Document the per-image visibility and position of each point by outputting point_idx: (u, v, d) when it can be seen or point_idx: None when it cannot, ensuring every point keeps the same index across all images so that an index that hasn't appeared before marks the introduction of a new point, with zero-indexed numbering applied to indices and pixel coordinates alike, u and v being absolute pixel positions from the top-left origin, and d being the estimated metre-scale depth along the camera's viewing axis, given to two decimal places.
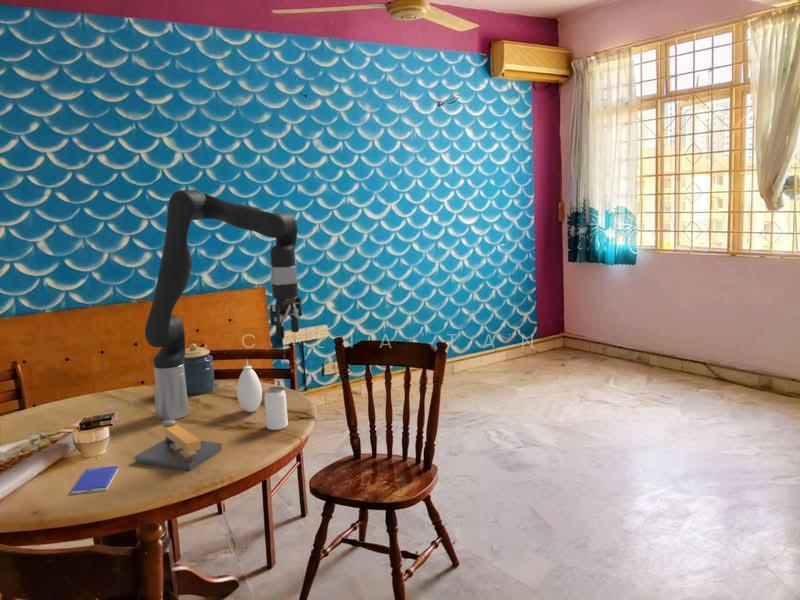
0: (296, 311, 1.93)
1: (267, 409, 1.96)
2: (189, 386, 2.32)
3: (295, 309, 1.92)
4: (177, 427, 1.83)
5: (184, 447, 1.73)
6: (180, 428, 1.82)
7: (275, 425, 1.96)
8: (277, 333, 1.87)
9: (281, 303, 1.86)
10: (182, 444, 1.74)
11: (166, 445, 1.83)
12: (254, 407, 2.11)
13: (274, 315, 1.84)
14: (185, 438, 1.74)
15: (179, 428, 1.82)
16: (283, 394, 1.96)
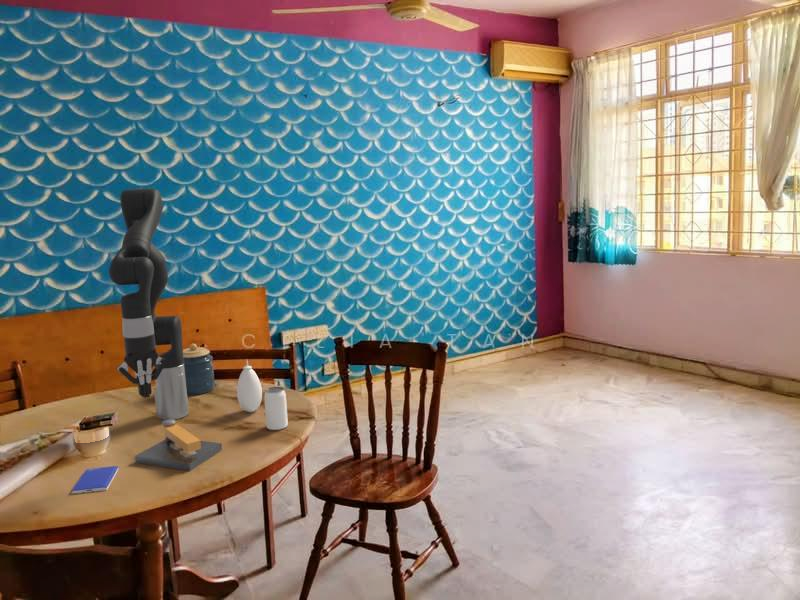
0: None
1: (267, 409, 1.96)
2: (189, 386, 2.32)
3: None
4: (177, 427, 1.83)
5: (184, 447, 1.73)
6: (180, 428, 1.82)
7: (275, 425, 1.96)
8: None
9: None
10: (182, 444, 1.74)
11: (166, 445, 1.83)
12: (254, 407, 2.11)
13: None
14: (185, 438, 1.74)
15: (179, 428, 1.82)
16: (283, 394, 1.96)
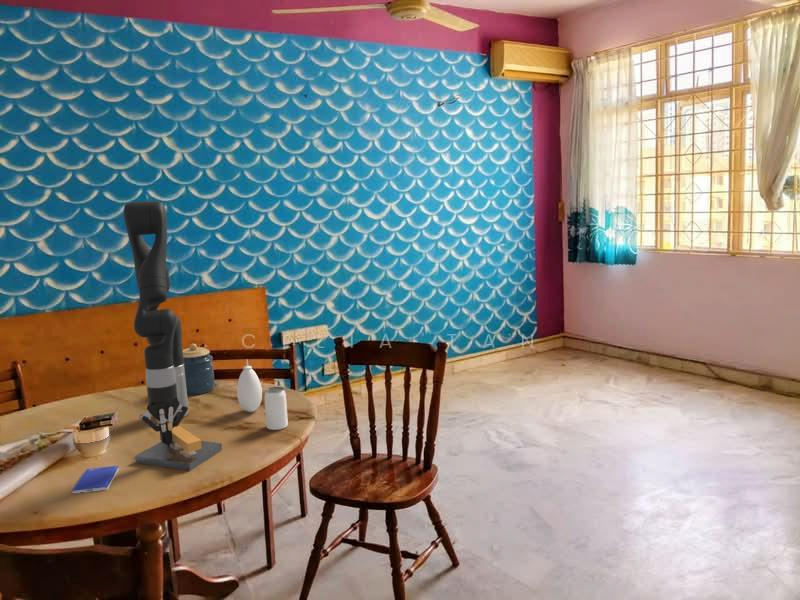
0: None
1: (267, 409, 1.96)
2: (189, 386, 2.32)
3: None
4: (177, 427, 1.83)
5: (185, 447, 1.73)
6: (180, 428, 1.82)
7: (275, 425, 1.96)
8: None
9: None
10: (182, 444, 1.74)
11: (166, 445, 1.83)
12: (254, 407, 2.11)
13: None
14: (186, 438, 1.74)
15: (179, 428, 1.82)
16: (283, 394, 1.96)
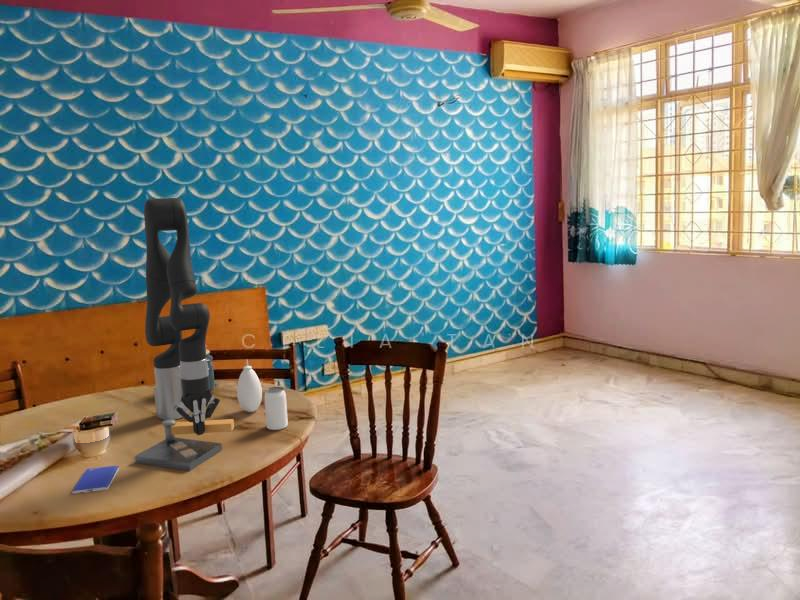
0: None
1: (267, 409, 1.96)
2: None
3: None
4: (184, 422, 1.86)
5: (223, 429, 1.85)
6: (189, 422, 1.87)
7: (275, 425, 1.96)
8: None
9: None
10: (217, 428, 1.84)
11: (166, 445, 1.83)
12: (254, 407, 2.11)
13: None
14: (218, 422, 1.85)
15: (187, 422, 1.87)
16: (283, 394, 1.96)
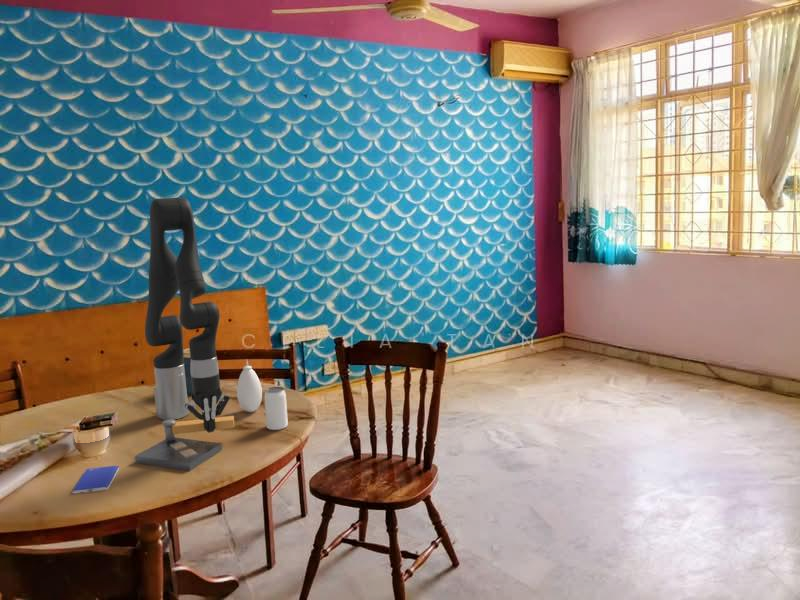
0: None
1: (267, 409, 1.96)
2: (189, 386, 2.32)
3: None
4: (184, 422, 1.87)
5: (225, 426, 1.87)
6: (189, 421, 1.88)
7: (275, 425, 1.96)
8: None
9: None
10: (219, 425, 1.87)
11: (166, 445, 1.83)
12: (254, 407, 2.11)
13: None
14: (219, 420, 1.88)
15: (187, 421, 1.87)
16: (283, 394, 1.96)
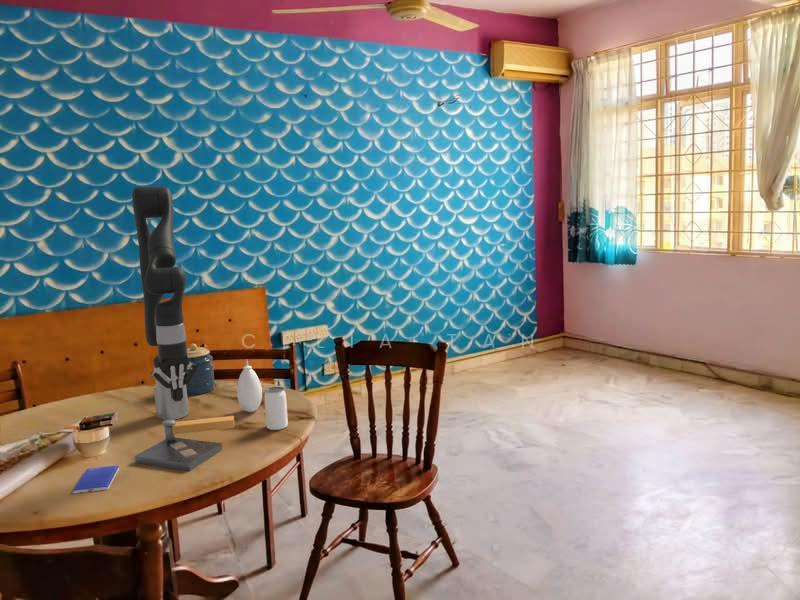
0: None
1: (267, 409, 1.96)
2: (189, 386, 2.32)
3: None
4: (184, 422, 1.87)
5: (225, 426, 1.87)
6: (189, 421, 1.88)
7: (275, 425, 1.96)
8: None
9: None
10: (219, 425, 1.87)
11: (166, 445, 1.83)
12: (254, 407, 2.11)
13: None
14: (219, 419, 1.88)
15: (187, 421, 1.88)
16: (283, 394, 1.96)
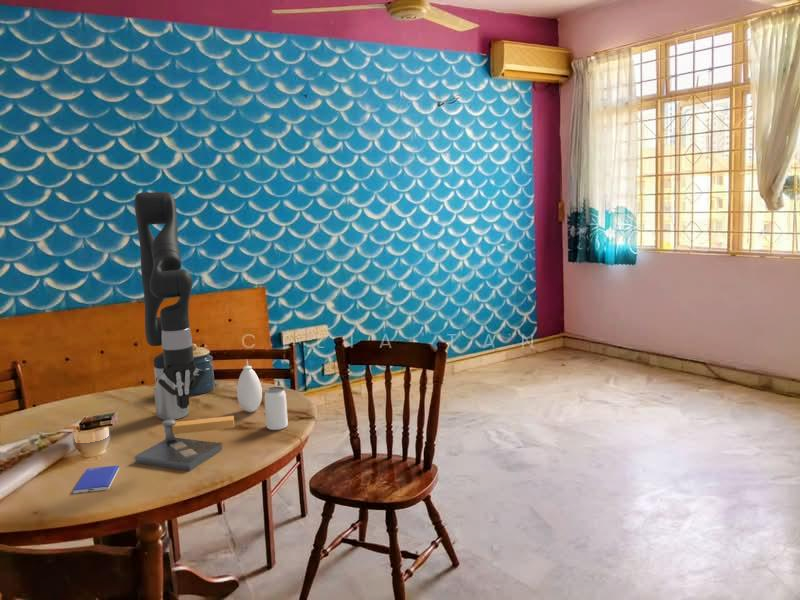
0: None
1: (267, 409, 1.96)
2: None
3: None
4: (184, 422, 1.87)
5: (225, 426, 1.87)
6: (189, 421, 1.88)
7: (275, 425, 1.96)
8: None
9: None
10: (219, 425, 1.87)
11: (166, 445, 1.83)
12: (254, 407, 2.11)
13: None
14: (219, 419, 1.88)
15: (187, 421, 1.88)
16: (283, 394, 1.96)
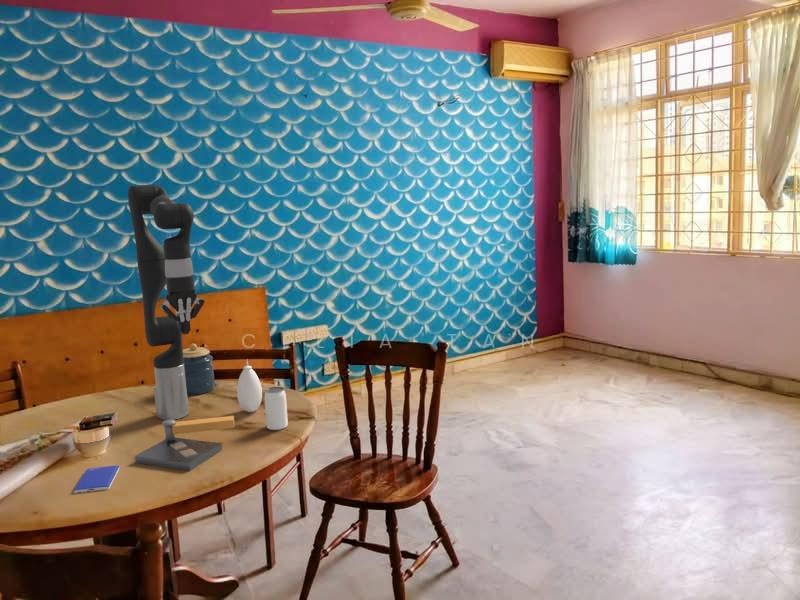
0: None
1: (267, 409, 1.96)
2: (189, 386, 2.32)
3: None
4: (184, 422, 1.87)
5: (225, 426, 1.87)
6: (189, 421, 1.88)
7: (275, 425, 1.96)
8: None
9: None
10: (219, 425, 1.87)
11: (166, 445, 1.83)
12: (254, 407, 2.11)
13: None
14: (219, 419, 1.88)
15: (187, 421, 1.88)
16: (283, 394, 1.96)
